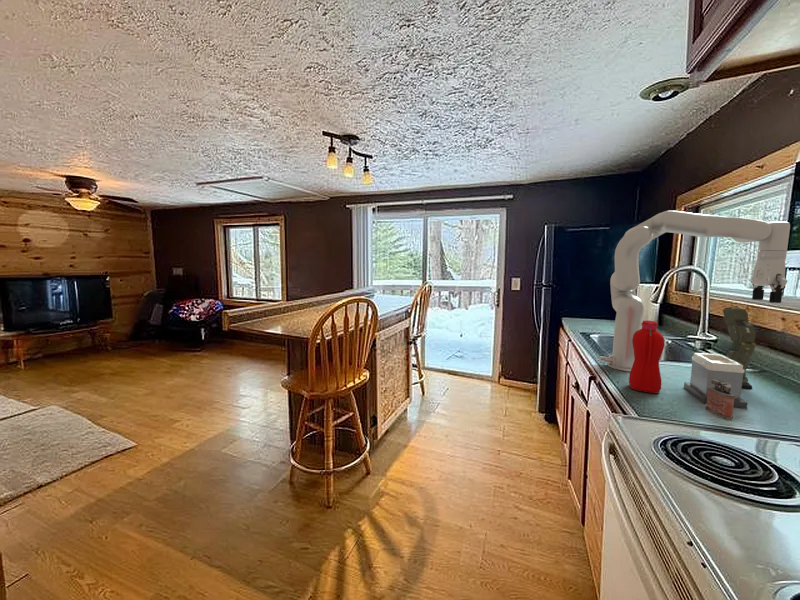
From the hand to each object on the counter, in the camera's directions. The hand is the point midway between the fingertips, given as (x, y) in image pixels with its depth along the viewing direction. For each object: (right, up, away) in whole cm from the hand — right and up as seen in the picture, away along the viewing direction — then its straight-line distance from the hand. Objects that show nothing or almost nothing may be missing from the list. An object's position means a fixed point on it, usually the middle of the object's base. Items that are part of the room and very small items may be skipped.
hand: (765, 301), depth 135 cm
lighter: (-42, -35, -27) cm, 61 cm away
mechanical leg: (-12, -31, 0) cm, 34 cm away
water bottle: (-51, -32, -7) cm, 61 cm away
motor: (-32, -33, -14) cm, 48 cm away
